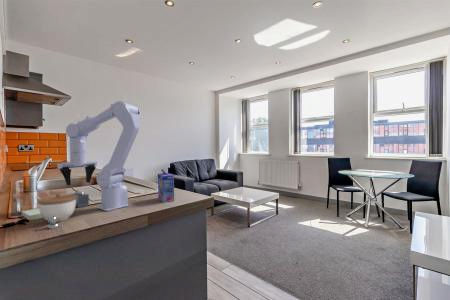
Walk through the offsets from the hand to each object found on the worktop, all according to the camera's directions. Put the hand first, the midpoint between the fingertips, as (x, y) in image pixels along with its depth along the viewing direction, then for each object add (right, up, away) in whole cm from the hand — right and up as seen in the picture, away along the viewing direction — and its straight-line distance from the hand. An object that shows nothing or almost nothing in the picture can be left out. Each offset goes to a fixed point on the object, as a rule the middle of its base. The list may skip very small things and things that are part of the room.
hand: (78, 183), depth 95 cm
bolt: (+8, -10, -25) cm, 28 cm away
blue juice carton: (+35, -9, +10) cm, 38 cm away
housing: (0, -10, 0) cm, 10 cm away
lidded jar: (+4, -10, -17) cm, 20 cm away
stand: (-7, -10, -13) cm, 17 cm away
